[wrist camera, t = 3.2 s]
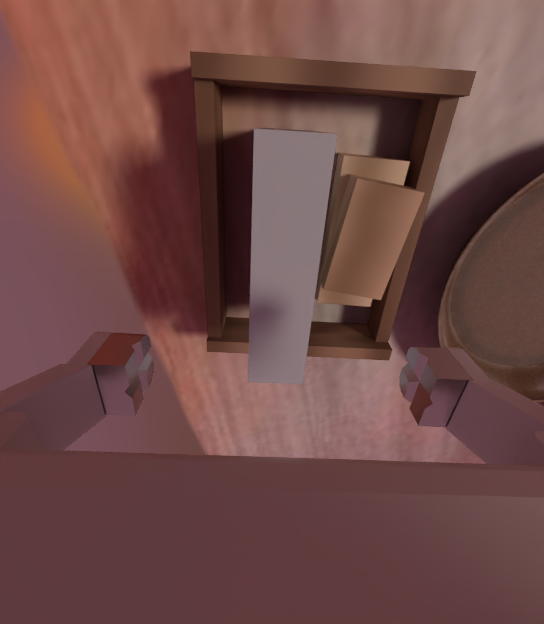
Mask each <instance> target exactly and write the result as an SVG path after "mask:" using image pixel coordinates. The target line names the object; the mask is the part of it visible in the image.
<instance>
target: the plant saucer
mask: <svg viewBox="0 0 544 624" xmlns="http://www.w3.org/2000/svg"><path fill="white" fill-rule="evenodd" d="M438 338H439V344H440V348H443V347H458V348H461V349H463V350H464V351H465V352H466V353H467V354H468V355H469V356H470V358H471V359H472V360H473V361H474V362H475V363H476V364H477V365H478V367H479V368H480V369H481V370H482V371H483V372H484V373H485V374H486V375H487V377H488V378H489V379H490V380H491V381H494V382H499V383H500V384H502V385H504V386H506V387H508V388H510V389H512V390H514V391H516V392H518V393H519V394H521V395H523V396H525V397H527V398H529V399H531V400H533V401H535V402H543V401H544V172H543V173H541V174H540V175H538V176H537V177H535V178H534V179H532V180H531V181H529V182H528V183H526V184H525V185H524V186H522V187H521V188H520V189H518V190H517V191H516V192H515V193H513V194H512V195H511V196H510V197H509V198H507V199H506V200H505V201H504V202H503V203H502V204H501V205H500V206H499V207H498V208H496V209H495V210H494V211H493V212H492V213H491V214H490V215H489V216H488V217H487V219H486V220H485V221H484V222H483V223H482V224H481V225H480V226H479V228H478V229H477V230H476V231H475V232H474V234H473V235H472V236H471V238H470V239H469V240H468V242H467V243H466V245H465V246H464V248H463V249H462V251H461V252H460V254H459V256H458V257H457V259H456V261H455V263H454V265H453V267H452V269H451V271H450V273H449V276H448V278H447V281H446V283H445V286H444V289H443V293H442V296H441V301H440V307H439V313H438Z"/></svg>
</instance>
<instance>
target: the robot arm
mask: <svg viewBox="0 0 544 624" xmlns="http://www.w3.org/2000/svg"><path fill="white" fill-rule="evenodd" d="M150 347H151V344H150V339H149V337H148V336H147V335H145V334H129V333H112V332H95V333H93V334H92V336H91V337H90V338H89V339H88V340H87V341H86V342H85V343H84V344H83V346H82V347H81V348H80V349H79V350H78V351H77V352H76V354H75V355H74V356H73V357H72V358H71V359H70V361H69V362H68V363H67V364H59V365H57V366H55V367H53V368H51V369H48V370H46V371H44V372H42V373H40V374H37V375H35V376H33V377H31V378H29V379H27V380H24V381H22V382H20V383H18V384H16V385H13V386H11V387H9V388H7V389H5V390H3V391H0V624H544V406H542V405H540V404H538V403H537V402H535V401H533V400H531V399H529V398H527V397H525V396H523V395H521V394H519V393H518V392H516V391H514V390H512V389H510V388H508V387H506V386H504V385H502V384H500V383H499V382H494V381H491V380H490V379H489V378H488V377H487V375H486V374H485V373H484V372H483V371H482V370H481V369H480V368H479V367H478V365H477V364H476V363H475V362H474V361H473V360H472V359H471V358H470V356H469V355H468V354H467V353H466V352H465V351H464V350H463V349H461V348H458V347H443V348H438V347H410V349H409V350H408V352H407V355H406V359H407V361H408V364H407V365H406V366H404V367H403V368H402V370H401V374H400V389H401V392H402V394H403V397H404V398H405V399H407V400H408V401H409V402H411V406H410V410H411V412H412V414H413V416H414V418H415V420H416V422H417V424H418V426H433V427H447V428H446V429H447V430H448V431H450V432H451V433H452V434H453V435H454V436H455V437H456V438H458V439H459V440H460V441H461V442H462V443H463V444H465V445H466V446H467V447H468V448H469V449H470V450H471V451H473V452H474V453H475V454H476V455H477V456H478V457H479V458H481V459H482V460H483V461H484V462H485V463H486V464H473V463H439V462H409V461H380V460H350V459H319V458H286V457H254V456H221V455H189V454H158V453H157V454H155V453H126V452H92V451H63V450H64V449H66V448H67V447H68V446H69V445H71V444H72V443H73V442H74V441H76V440H77V439H78V438H80V437H81V436H82V435H83V434H84V433H86V432H87V431H88V430H90V429H91V428H92V427H93V426H95V425H96V424H97V423H98V422H100V421H101V420H102V419H103V418H105V415H136V414H137V411H138V409H139V407H140V405H141V403H142V401H143V399H144V397H143V391H145V390H146V389H148V388H149V386H150V384H151V382H152V377H153V373H154V363H153V358H152V357H151V356H150V355H149V354H148V351H149V349H150Z"/></svg>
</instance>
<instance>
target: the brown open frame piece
mask: <svg viewBox="0 0 544 624" xmlns="http://www.w3.org/2000/svg"><path fill="white" fill-rule="evenodd" d="M190 58H191V76H192V78H194V92H195V110H196V129H197V147H198V166H199V184H200V202H201V221H202V239H203V258H204V276H205V294H206V313H207V331H208V338H207V352H227V353H248V354H249V318H229V317H226V285H225V233H224V180H223V127H222V86H227V87H242V88H257V89H272V90H287V91H302V92H317V93H332V94H347V95H362V96H377V97H392V98H406V99H421V100H422V101H421V105H420V110H419V114H418V118H417V122H416V126H415V130H414V134H413V138H412V143H411V147H410V151H409V155H408V159H407V161H410V164H409V167H408V171H407V175H406V178H405V182H404V186H408V187H412V188H415V189H417V190H419V191H422V192H424V193H425V194H424V196H423V199H422V201H421V204H420V206H419V208H418V211H417V213H416V216H415V218H414V221H413V223H412V225H411V228H410V230H409V233H408V235H407V238H406V240H405V242H404V245H403V247H402V250H401V252H400V255H399V257H398V259H397V262H396V264H395V267H394V269H393V272H392V274H391V277H390V279H389V281H388V284H387V286H386V289H385V291H384V294H383V296H382V298H381V300H377V299H373V303H372V307H371V312H370V316H369V320H368V324H348V323H328V322H311V328H310V336H309V343H308V350H307V356H310V357H331V358H352V359H373V360H389V359H390V355H391V352H392V349H391V347H390V345H389V343H388V341H389V337H390V334H391V330H392V327H393V323H394V320H395V317H396V313H397V310H398V306H399V303H400V299H401V296H402V292H403V289H404V286H405V282H406V279H407V275H408V272H409V268H410V265H411V261H412V258H413V255H414V251H415V248H416V244H417V241H418V237H419V234H420V230H421V227H422V224H423V220H424V217H425V213H426V210H427V206H428V203H429V200H430V196H431V193H432V189H433V186H434V182H435V179H436V175H437V172H438V169H439V165H440V162H441V158H442V155H443V151H444V148H445V144H446V141H447V138H448V134H449V131H450V127H451V124H452V120H453V117H454V113H455V110H456V107H457V103H458V100H459V97H464V96H469V94H470V91H471V88H472V84H473V81H474V78H475V74H476V71H465V70H451V69H436V68H422V67H407V66H393V65H379V64H364V63H350V62H335V61H321V60H307V59H292V58H278V57H263V56H249V55H234V54H220V53H206V52H191V51H190Z"/></svg>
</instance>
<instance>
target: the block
mask: <svg viewBox="0 0 544 624" xmlns="http://www.w3.org/2000/svg"><path fill="white" fill-rule="evenodd" d="M336 140H337V134H334V133H325V132H316V131H305V130H290V129H274V128H254V146H253V188H252V230H251V273H250V315H249V357H248V382H259V383H281V384H303V379H304V372H305V365H306V357H307V350H308V343H309V336H310V328H311V321H312V314H313V307H314V299H315V292H316V285H317V278H318V271H319V263H320V256H321V249H322V242H323V234H324V227H325V220H326V213H327V205H328V198H329V191H330V184H331V176H332V169H333V162H334V155H335V147H336Z"/></svg>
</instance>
